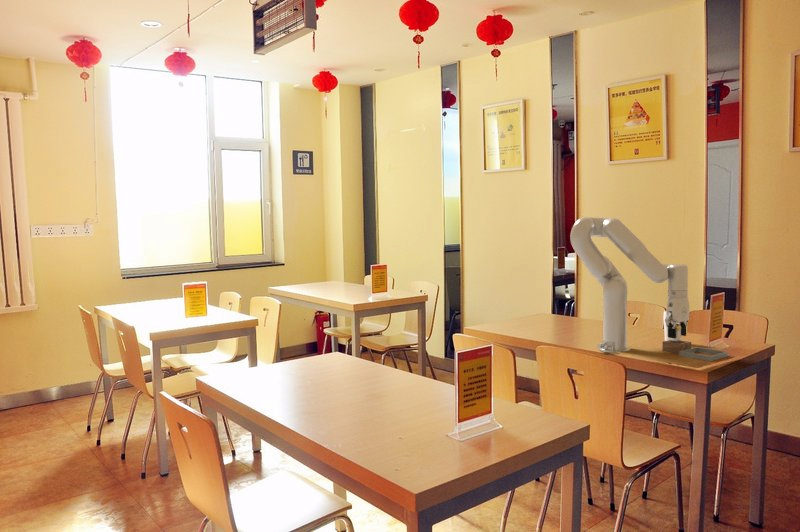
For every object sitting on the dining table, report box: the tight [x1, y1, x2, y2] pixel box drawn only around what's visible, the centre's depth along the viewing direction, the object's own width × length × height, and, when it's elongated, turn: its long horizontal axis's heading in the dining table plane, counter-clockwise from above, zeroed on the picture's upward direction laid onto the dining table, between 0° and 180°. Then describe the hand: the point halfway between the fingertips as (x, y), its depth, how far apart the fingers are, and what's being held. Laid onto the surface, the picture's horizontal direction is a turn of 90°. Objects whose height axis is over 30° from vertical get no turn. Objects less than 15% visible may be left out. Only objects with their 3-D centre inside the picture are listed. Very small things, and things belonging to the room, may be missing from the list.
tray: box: [678, 346, 729, 362], centre depth 256 cm, size 13×13×3 cm
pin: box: [673, 324, 682, 343], centre depth 265 cm, size 3×3×12 cm
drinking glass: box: [662, 310, 679, 341], centre depth 282 cm, size 7×7×15 cm
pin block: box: [661, 339, 692, 355], centre depth 266 cm, size 8×8×5 cm
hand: (677, 336), depth 265 cm, fingers open, 7 cm apart
